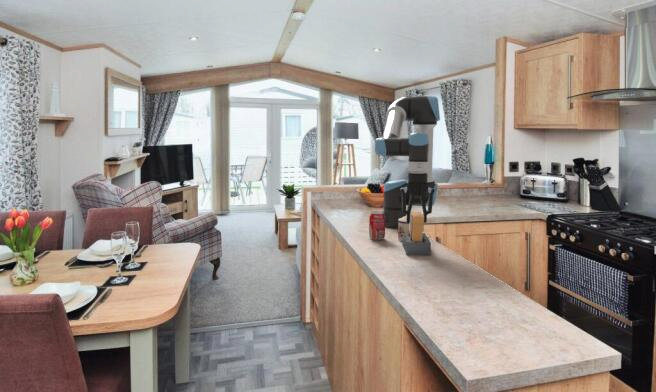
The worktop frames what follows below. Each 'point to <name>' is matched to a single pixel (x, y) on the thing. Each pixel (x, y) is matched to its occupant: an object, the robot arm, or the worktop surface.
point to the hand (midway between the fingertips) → (416, 230)
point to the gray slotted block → (416, 245)
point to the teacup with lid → (402, 227)
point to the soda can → (377, 225)
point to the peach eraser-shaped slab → (417, 226)
